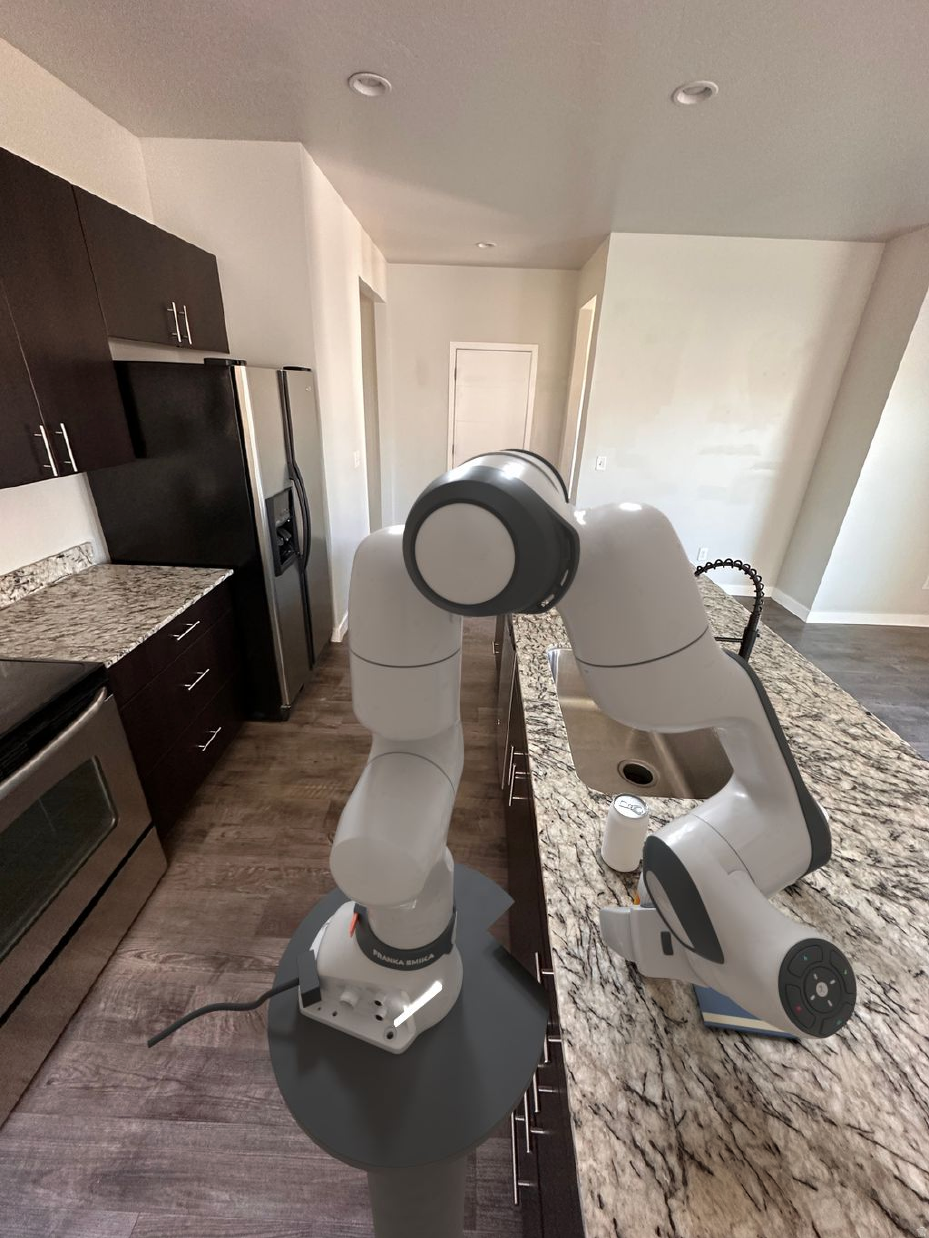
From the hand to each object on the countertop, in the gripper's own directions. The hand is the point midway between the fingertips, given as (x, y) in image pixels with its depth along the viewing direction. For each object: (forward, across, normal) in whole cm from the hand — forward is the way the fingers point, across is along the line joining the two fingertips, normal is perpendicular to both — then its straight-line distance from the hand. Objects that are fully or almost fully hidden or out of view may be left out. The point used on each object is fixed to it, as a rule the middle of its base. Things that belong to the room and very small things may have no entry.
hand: (660, 912), depth 66 cm
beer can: (+7, 0, +6) cm, 10 cm away
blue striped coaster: (+4, -10, +10) cm, 14 cm away
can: (+18, -2, -5) cm, 19 cm away
